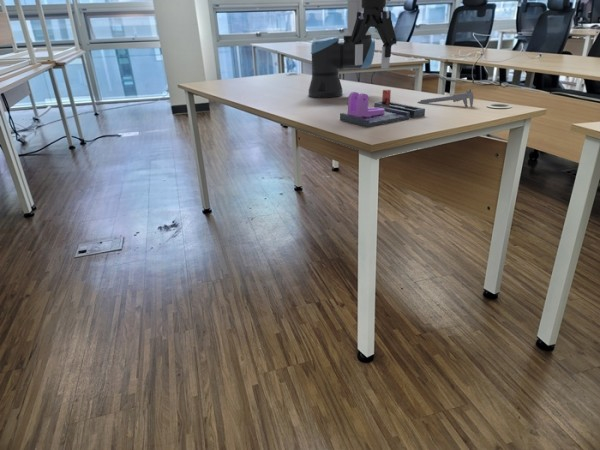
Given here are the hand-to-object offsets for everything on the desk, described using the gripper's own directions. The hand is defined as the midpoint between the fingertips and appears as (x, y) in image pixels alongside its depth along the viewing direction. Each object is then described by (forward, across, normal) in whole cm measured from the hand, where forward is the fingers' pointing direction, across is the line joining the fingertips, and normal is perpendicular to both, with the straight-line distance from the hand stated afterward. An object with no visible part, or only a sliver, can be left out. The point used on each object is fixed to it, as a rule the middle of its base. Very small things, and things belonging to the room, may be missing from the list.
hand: (371, 66), depth 140 cm
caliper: (+17, +4, +32) cm, 36 cm away
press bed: (+16, +7, -4) cm, 17 cm away
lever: (+15, +1, +10) cm, 18 cm away
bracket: (+14, +5, -5) cm, 16 cm away
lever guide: (+16, +4, +10) cm, 19 cm away
